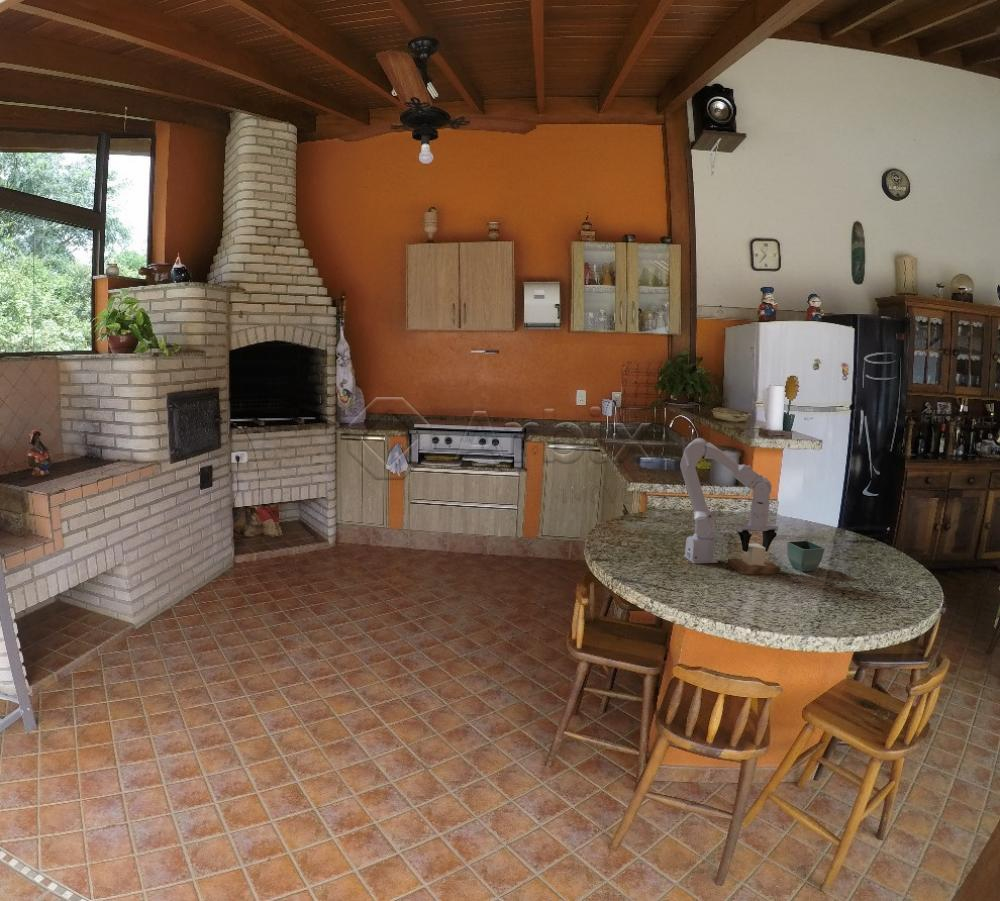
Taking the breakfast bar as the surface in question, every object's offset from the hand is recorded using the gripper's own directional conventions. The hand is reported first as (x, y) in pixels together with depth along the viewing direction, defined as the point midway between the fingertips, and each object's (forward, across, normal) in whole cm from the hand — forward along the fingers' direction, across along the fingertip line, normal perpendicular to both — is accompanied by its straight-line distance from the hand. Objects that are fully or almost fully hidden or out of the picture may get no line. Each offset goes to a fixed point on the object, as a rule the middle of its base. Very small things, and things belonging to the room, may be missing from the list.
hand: (754, 550), depth 220 cm
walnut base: (+6, 0, 0) cm, 7 cm away
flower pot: (+7, +18, -2) cm, 19 cm away
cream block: (+4, 0, 0) cm, 4 cm away
